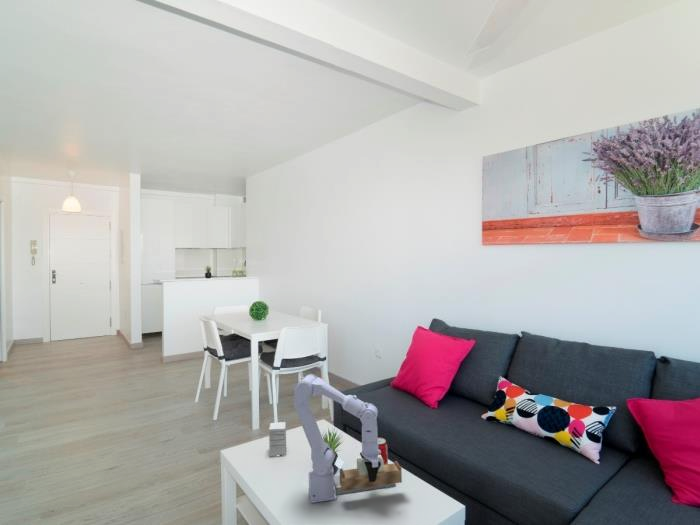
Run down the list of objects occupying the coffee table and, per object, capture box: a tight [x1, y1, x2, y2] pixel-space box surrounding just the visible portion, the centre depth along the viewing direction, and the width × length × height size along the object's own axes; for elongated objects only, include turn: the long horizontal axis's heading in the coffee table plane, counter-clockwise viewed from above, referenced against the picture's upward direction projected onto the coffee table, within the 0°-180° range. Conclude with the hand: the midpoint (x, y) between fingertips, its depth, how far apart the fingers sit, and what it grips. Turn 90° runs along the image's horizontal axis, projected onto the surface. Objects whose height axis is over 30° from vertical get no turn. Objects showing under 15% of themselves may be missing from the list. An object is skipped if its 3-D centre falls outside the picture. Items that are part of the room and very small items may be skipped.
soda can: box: [378, 437, 389, 465], centre depth 159 cm, size 7×7×12 cm
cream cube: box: [378, 455, 384, 472], centre depth 139 cm, size 4×4×4 cm
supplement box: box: [268, 421, 287, 457], centre depth 175 cm, size 7×7×13 cm
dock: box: [334, 475, 396, 496], centre depth 148 cm, size 23×8×3 cm, turn 102°
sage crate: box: [356, 457, 370, 475], centre depth 138 cm, size 4×4×4 cm
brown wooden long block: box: [339, 460, 403, 491], centre depth 138 cm, size 22×5×5 cm, turn 102°
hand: (370, 477), depth 138 cm, fingers closed on brown wooden long block, 5 cm apart
